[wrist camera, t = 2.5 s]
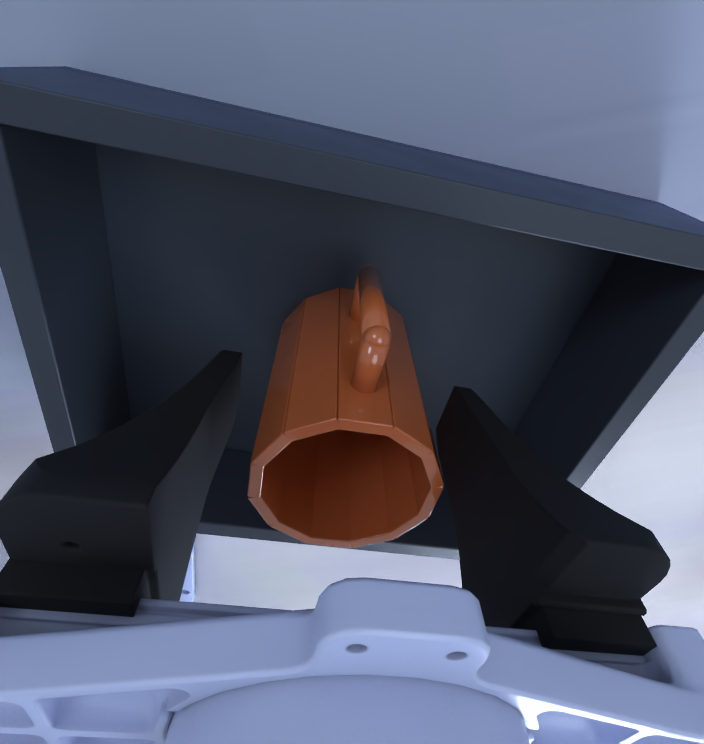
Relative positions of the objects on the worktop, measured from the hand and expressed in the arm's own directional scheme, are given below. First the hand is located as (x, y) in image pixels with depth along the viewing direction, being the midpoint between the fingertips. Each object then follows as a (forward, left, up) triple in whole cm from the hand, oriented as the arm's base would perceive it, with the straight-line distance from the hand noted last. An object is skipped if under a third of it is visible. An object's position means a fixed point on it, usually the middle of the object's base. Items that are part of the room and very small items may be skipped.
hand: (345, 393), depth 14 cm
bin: (0, 0, -3) cm, 3 cm away
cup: (0, 0, -3) cm, 3 cm away
